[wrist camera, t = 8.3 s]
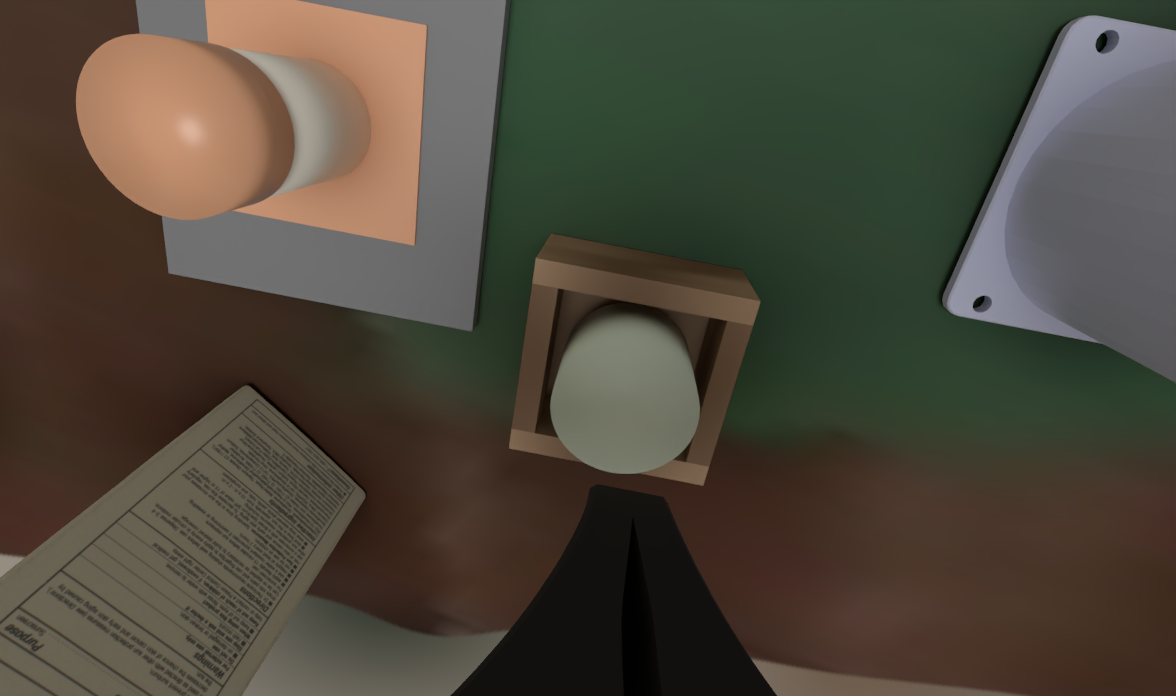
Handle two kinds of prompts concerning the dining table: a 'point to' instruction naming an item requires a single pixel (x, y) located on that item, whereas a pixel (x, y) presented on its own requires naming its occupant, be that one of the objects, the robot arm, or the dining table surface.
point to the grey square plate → (389, 169)
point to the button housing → (622, 275)
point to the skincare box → (179, 565)
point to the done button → (625, 390)
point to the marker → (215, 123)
